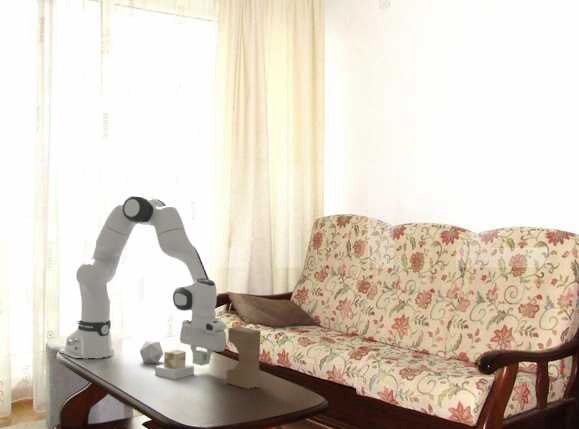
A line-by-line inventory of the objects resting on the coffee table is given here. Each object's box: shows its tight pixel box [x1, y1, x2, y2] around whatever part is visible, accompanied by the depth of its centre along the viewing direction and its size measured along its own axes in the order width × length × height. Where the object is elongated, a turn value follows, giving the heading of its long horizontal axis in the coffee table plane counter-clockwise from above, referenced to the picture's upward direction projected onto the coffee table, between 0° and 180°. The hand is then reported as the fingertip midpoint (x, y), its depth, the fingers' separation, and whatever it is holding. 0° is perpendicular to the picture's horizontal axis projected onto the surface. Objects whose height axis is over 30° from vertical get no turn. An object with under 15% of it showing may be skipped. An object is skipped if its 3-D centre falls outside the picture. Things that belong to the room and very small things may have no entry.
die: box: [139, 340, 164, 365], centre depth 286 cm, size 8×9×10 cm
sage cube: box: [192, 349, 211, 366], centre depth 273 cm, size 4×4×4 cm
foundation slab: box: [154, 363, 195, 380], centre depth 270 cm, size 10×10×3 cm
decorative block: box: [226, 326, 261, 390], centre depth 259 cm, size 11×6×20 cm, turn 48°
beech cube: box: [163, 348, 187, 369], centre depth 270 cm, size 6×6×6 cm
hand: (201, 358), depth 273 cm, fingers closed on sage cube, 4 cm apart
